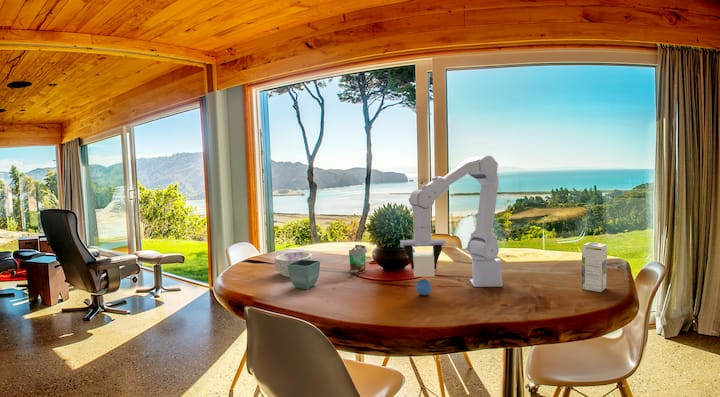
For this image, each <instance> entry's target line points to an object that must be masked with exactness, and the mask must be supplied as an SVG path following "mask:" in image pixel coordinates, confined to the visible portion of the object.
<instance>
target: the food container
mask: <svg viewBox="0 0 720 397" xmlns="http://www.w3.org/2000/svg"><path fill="white" fill-rule="evenodd" d="M367 253H368V249H367V246H365V245H362V244H355V245H354V247H353V248H352V249H349V250H348V257H349V271H350V275H356V274H355V273H359V272H363V271H365V272H366V261H367V260H366V259H367V258H366V256H367ZM363 273H364V272H363Z"/></svg>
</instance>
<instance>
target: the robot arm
mask: <svg viewBox="0 0 720 397" xmlns="http://www.w3.org/2000/svg"><path fill="white" fill-rule="evenodd" d="M498 167H499V163H498V162H497V160H496V159H495V158H494V157H493V156H492V155H483V156H470V157H467V159H465V160H462V161H461V163H459V164H458V165H457V166H456V167H454V168H453V169H452V170H450V171H449V172H448V173H447V174H445V175H444V176H440V175H439V176H434V177H431V179H432V180H431V181H428V182H427V183H426V184H422V185H421V188H420V189H415V190H413V191H412V192H411V193H410V196H409V198H408V202H409V204H410V205H411V208H412V209H411V210H412V224H413V227H412V228H413V231H412V232H413V239H406V240H405V239H403V240H399V242H400V243H399V247H400V248H404V251H405V253H406V255H407V257H408V260H409V263H410V267H411V270H413V269H414V264H413V251H414V249H413V247H417V248H418V247H432V252H433V255H434V269H435V270H437V265H438V260H439V257H440V255H441V253H442V251H443V247H447V240H446V239H444V238H443V239H442V238H441V239H439V238H438V239H437V238H433V236H432V206H433V205H434V203H435V201H436V200H437V199H439V198H440V197H441V196H443V195H445V193H447V192H448V191H449V190H450V186H451V185H452V184H454V183H455V182H457V181H459V180H461V179H462V178H463V177H465V176H466V175H469V176H470V177H472V178H474V180H476V181H477V182H478V183H479V184H480V191H479V200H478V210H477V219H476V226H475V230H474V231H473V232H471V234H470V238H469V240H468V242H467V245H466V248H467V251H468V253H469V254H470V258H471V265H472V266H471V268H472V269H471V270H472V278H470V279H469V282H470V283H471V285H472V286H473V287H475V288H478V287H480V288H483V287H484V288H485V287H487V288H488V287H489V288H490V287H495V288H496V287H498V288H499V287H503V268H502V267H503V265H502V261H501V259H500V258H498V257H497V256H498V254H499V251H500V250H499V249H500V248H499V247H500V246H499V243H498V239H499V238H498V237H497V235H496V234H495V233H494V231H493V230H494V225H495V224H494V222H495V214H496V208H497V207H496V206H497V197H498V187H499V177H498Z"/></svg>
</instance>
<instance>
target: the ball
mask: <svg viewBox="0 0 720 397" xmlns="http://www.w3.org/2000/svg"><path fill="white" fill-rule="evenodd" d="M415 289H416V292H417V293H418V294H419V295H421V296H427V295H429V294H430V293H431V292H432V284H431V282H430V281H429V280H427V279H424V278H422V279H419V280H418V281H417V282H416V284H415Z"/></svg>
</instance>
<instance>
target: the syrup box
mask: <svg viewBox="0 0 720 397" xmlns="http://www.w3.org/2000/svg"><path fill="white" fill-rule="evenodd" d="M581 246H582V247H581V249H582V250H581V289H582V290H585V291H592V292H598V293H602V292H603V291H605V290H606V289H607V281H608V279H607V275H608V272H607V271H608V245H607V244H606V243H600V242H590V241H589V242H586V243H584V244H582V245H581Z"/></svg>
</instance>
